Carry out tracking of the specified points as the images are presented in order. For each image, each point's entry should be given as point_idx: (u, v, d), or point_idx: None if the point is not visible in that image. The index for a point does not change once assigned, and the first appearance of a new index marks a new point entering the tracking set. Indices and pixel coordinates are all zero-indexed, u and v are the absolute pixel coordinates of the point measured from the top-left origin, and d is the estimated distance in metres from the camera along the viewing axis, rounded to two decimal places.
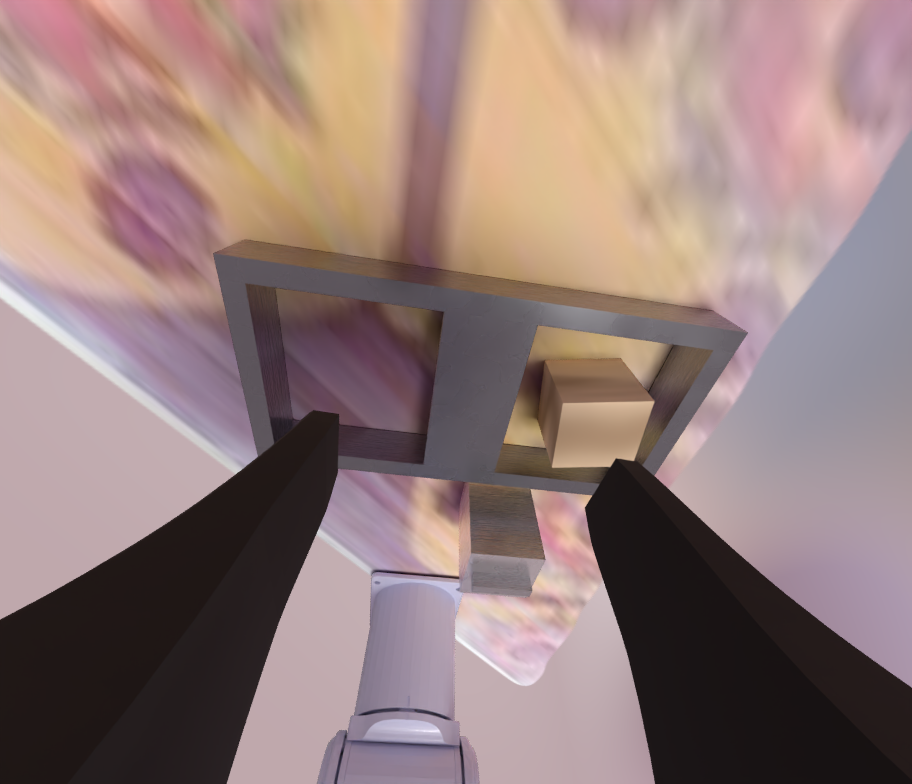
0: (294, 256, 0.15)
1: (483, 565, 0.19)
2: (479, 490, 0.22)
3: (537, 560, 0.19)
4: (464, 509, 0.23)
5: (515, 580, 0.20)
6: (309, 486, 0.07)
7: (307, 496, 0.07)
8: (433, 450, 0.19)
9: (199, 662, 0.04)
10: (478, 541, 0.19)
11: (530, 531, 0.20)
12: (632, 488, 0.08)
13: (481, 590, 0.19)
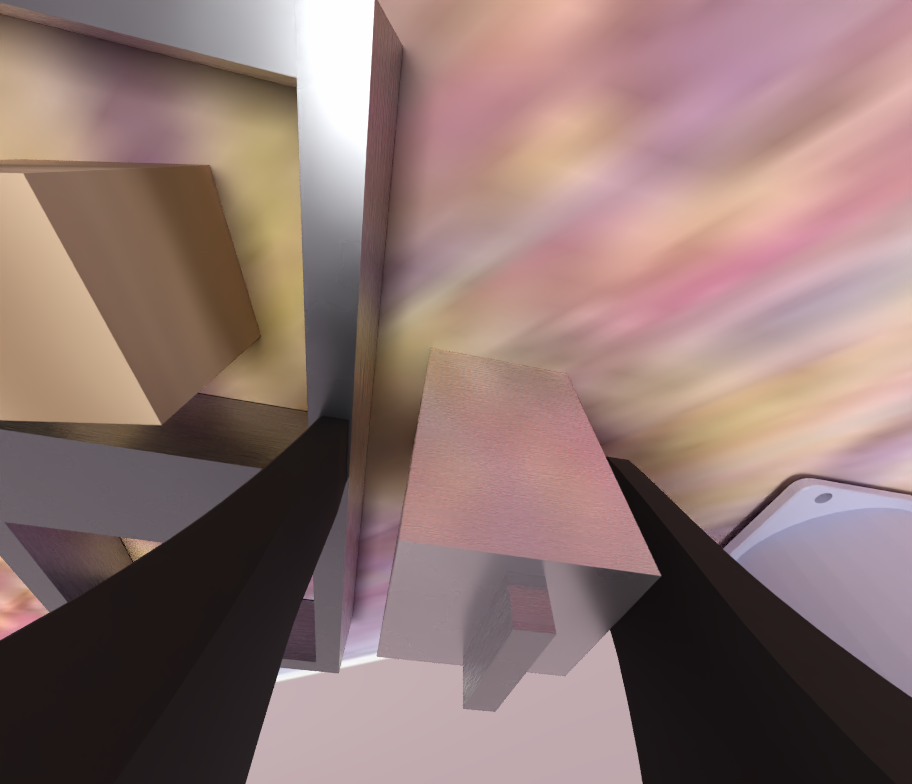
0: None
1: (433, 643, 0.07)
2: None
3: (406, 555, 0.05)
4: None
5: (494, 618, 0.06)
6: (323, 488, 0.07)
7: (321, 498, 0.07)
8: None
9: (226, 664, 0.04)
10: None
11: None
12: (622, 486, 0.08)
13: (487, 701, 0.06)
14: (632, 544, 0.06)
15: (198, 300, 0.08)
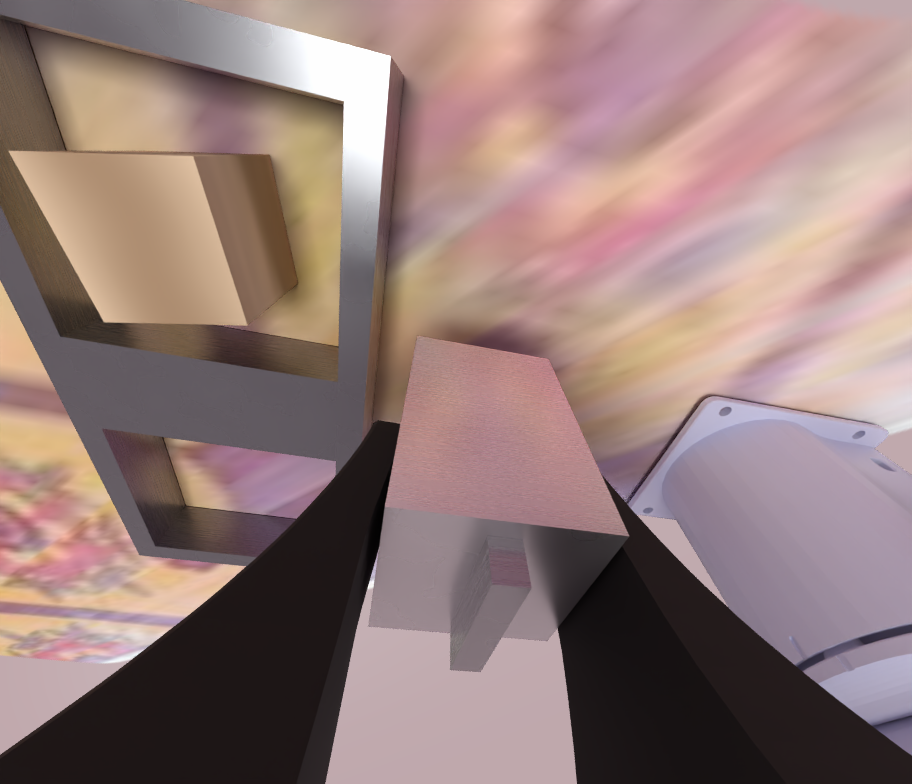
0: None
1: (421, 611, 0.07)
2: None
3: (393, 521, 0.06)
4: None
5: (476, 580, 0.06)
6: (385, 496, 0.07)
7: (383, 507, 0.07)
8: (307, 449, 0.15)
9: (335, 673, 0.04)
10: None
11: None
12: None
13: (473, 661, 0.07)
14: (604, 509, 0.06)
15: (264, 247, 0.11)
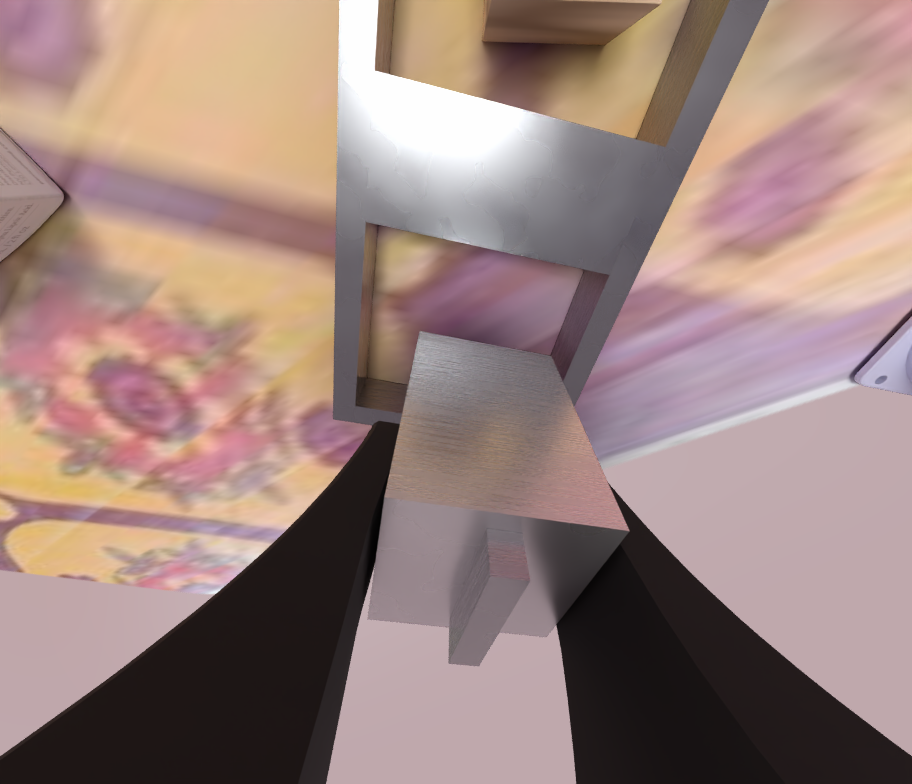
0: None
1: (421, 604, 0.07)
2: None
3: (392, 513, 0.06)
4: None
5: (475, 573, 0.06)
6: None
7: None
8: (584, 256, 0.13)
9: (336, 673, 0.04)
10: None
11: None
12: None
13: (471, 654, 0.07)
14: (604, 504, 0.06)
15: None
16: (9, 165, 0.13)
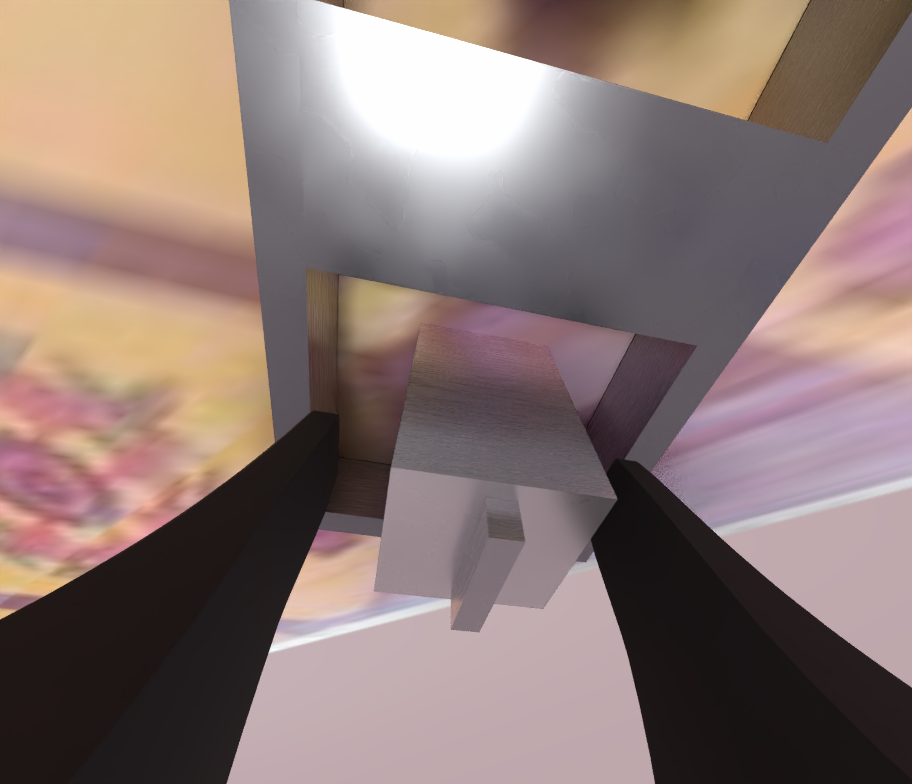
0: None
1: (424, 575, 0.08)
2: None
3: (398, 483, 0.06)
4: None
5: (475, 540, 0.07)
6: (309, 486, 0.07)
7: (307, 497, 0.07)
8: (660, 319, 0.08)
9: (200, 662, 0.04)
10: None
11: None
12: (632, 488, 0.08)
13: (472, 619, 0.07)
14: (594, 476, 0.07)
15: None
16: None
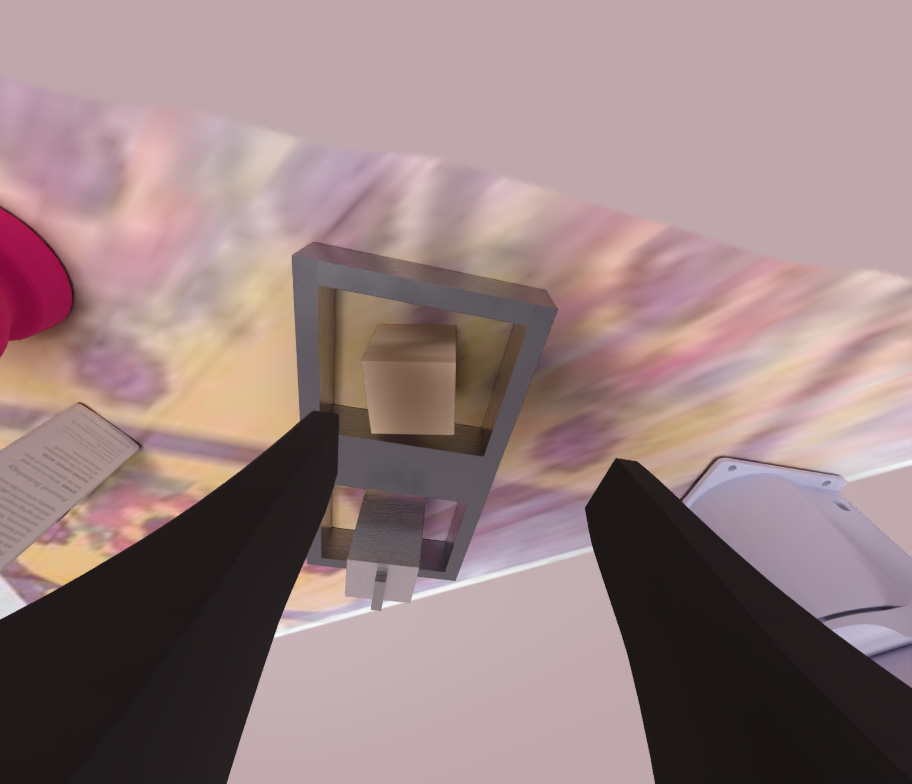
0: None
1: (362, 590, 0.22)
2: None
3: (349, 563, 0.20)
4: None
5: None
6: (309, 486, 0.07)
7: (306, 497, 0.07)
8: (451, 495, 0.22)
9: (200, 662, 0.04)
10: None
11: None
12: (632, 488, 0.08)
13: (377, 606, 0.21)
14: (415, 559, 0.20)
15: None
16: (112, 445, 0.22)
